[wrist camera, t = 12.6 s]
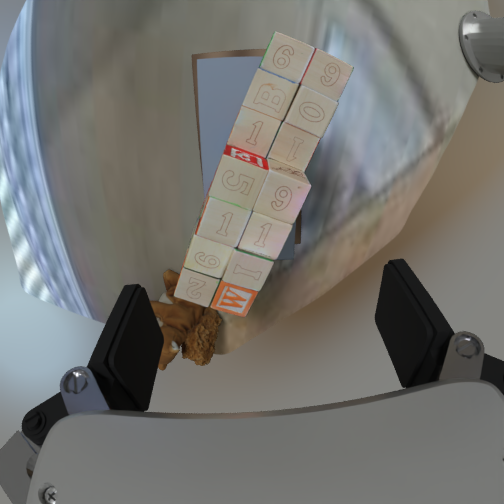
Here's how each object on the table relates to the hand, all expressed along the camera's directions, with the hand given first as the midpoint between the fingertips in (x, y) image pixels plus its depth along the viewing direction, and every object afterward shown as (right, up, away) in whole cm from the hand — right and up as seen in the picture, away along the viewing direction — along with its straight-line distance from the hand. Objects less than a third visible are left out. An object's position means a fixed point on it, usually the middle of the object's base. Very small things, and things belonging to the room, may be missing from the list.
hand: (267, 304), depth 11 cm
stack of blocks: (0, +12, +18) cm, 22 cm away
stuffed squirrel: (-12, -7, +39) cm, 42 cm away
